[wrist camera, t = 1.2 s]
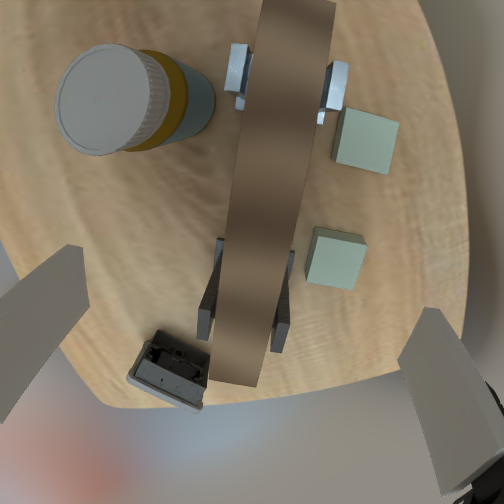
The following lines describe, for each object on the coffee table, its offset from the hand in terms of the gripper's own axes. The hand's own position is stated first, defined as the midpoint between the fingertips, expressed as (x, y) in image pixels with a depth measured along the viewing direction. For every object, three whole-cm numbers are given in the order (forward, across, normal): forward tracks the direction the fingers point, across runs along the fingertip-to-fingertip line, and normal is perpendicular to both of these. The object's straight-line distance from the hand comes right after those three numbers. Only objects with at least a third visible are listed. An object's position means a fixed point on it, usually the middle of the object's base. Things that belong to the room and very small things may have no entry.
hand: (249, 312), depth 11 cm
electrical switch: (+21, -8, -22) cm, 31 cm away
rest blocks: (+20, +8, 0) cm, 22 cm away
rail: (+12, 0, 0) cm, 12 cm away
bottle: (+20, -9, +7) cm, 24 cm away
